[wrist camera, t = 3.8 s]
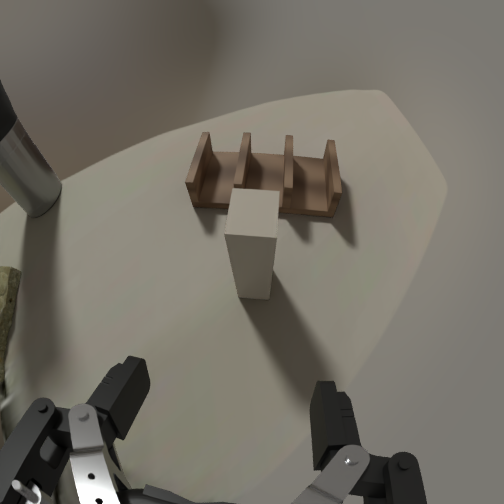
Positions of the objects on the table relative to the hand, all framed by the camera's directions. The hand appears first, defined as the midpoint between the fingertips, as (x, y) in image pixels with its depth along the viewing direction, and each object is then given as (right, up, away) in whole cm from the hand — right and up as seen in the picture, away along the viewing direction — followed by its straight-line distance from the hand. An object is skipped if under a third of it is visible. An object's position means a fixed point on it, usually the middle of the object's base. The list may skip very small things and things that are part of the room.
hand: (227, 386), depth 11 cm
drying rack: (+3, +16, +27) cm, 31 cm away
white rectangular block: (+2, +3, +20) cm, 20 cm away
